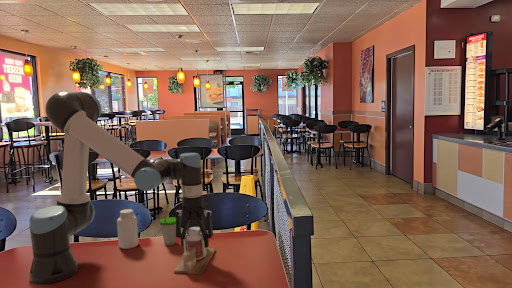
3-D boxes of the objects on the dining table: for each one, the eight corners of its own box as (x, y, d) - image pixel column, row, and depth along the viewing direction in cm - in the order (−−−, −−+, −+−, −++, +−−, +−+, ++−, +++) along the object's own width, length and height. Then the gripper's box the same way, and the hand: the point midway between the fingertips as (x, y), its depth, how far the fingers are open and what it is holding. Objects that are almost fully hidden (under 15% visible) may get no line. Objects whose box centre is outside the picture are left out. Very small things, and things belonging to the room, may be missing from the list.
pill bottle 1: (142, 243, 164) (140, 209, 162) (127, 250, 157) (124, 215, 155) (130, 240, 168) (127, 207, 166) (114, 247, 161) (111, 212, 159)
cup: (174, 238, 169) (172, 205, 167) (183, 243, 163) (181, 209, 161) (157, 243, 164) (155, 209, 162) (166, 248, 158) (163, 213, 156)
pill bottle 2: (206, 258, 144) (205, 229, 143) (191, 262, 141) (190, 233, 139) (199, 252, 149) (198, 224, 148) (184, 256, 146) (183, 228, 144)
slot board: (174, 273, 136) (172, 254, 135) (191, 250, 156) (190, 233, 155) (201, 274, 135) (200, 254, 134) (215, 250, 154) (214, 233, 153)
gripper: (163, 197, 139) (167, 258, 143) (215, 198, 137) (218, 260, 140) (170, 192, 147) (174, 250, 150) (220, 192, 144) (223, 251, 147)
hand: (195, 255), depth 145 cm, fingers open, 6 cm apart
